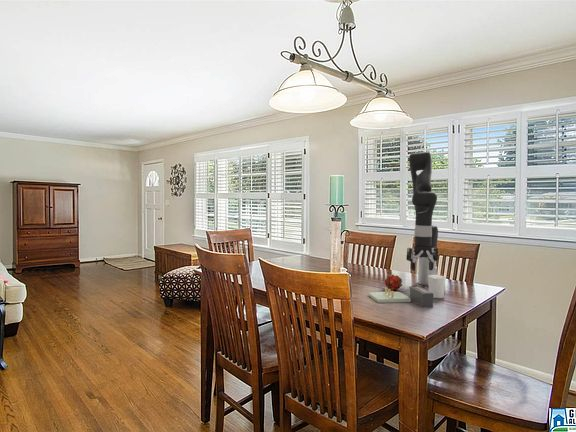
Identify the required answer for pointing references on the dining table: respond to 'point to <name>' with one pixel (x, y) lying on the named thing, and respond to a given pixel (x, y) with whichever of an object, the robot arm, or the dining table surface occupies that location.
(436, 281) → the white cup
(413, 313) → the dining table surface
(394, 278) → the dragon fruit
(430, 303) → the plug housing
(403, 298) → the board
